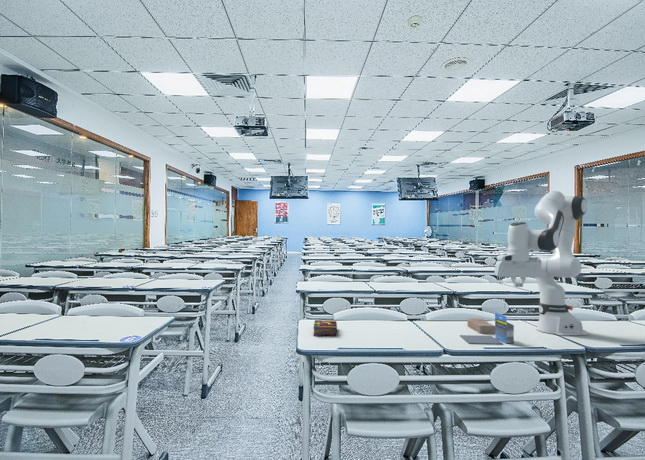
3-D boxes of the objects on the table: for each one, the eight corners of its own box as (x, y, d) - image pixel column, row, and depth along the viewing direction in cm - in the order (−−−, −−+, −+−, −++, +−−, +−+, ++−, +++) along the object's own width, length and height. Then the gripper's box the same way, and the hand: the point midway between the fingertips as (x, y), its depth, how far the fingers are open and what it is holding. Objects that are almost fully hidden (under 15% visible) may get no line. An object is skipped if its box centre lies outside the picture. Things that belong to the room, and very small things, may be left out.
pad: (491, 336, 178) (491, 335, 178) (503, 344, 165) (503, 343, 165) (459, 336, 179) (459, 335, 179) (468, 343, 166) (468, 342, 166)
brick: (496, 334, 184) (496, 325, 184) (479, 334, 184) (479, 324, 184) (482, 326, 200) (482, 318, 201) (466, 326, 200) (466, 318, 201)
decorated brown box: (336, 329, 192) (336, 319, 192) (336, 337, 176) (336, 326, 176) (314, 328, 192) (314, 319, 192) (313, 337, 176) (313, 326, 176)
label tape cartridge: (514, 343, 167) (514, 316, 167) (506, 344, 166) (506, 316, 167) (502, 338, 176) (502, 312, 176) (494, 338, 175) (494, 312, 175)
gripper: (537, 256, 174) (537, 286, 174) (493, 256, 175) (493, 285, 175) (544, 257, 168) (545, 288, 168) (498, 257, 169) (498, 287, 169)
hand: (518, 286), depth 171 cm, fingers closed
